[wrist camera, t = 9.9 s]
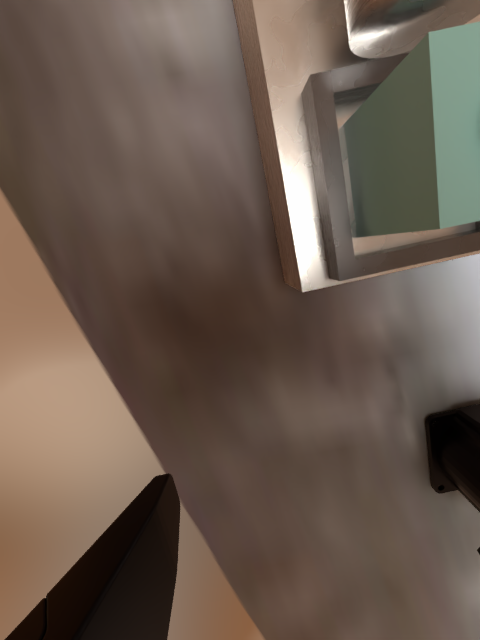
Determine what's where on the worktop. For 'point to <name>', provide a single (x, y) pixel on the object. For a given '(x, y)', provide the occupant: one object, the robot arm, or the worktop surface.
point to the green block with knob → (420, 140)
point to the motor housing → (334, 127)
